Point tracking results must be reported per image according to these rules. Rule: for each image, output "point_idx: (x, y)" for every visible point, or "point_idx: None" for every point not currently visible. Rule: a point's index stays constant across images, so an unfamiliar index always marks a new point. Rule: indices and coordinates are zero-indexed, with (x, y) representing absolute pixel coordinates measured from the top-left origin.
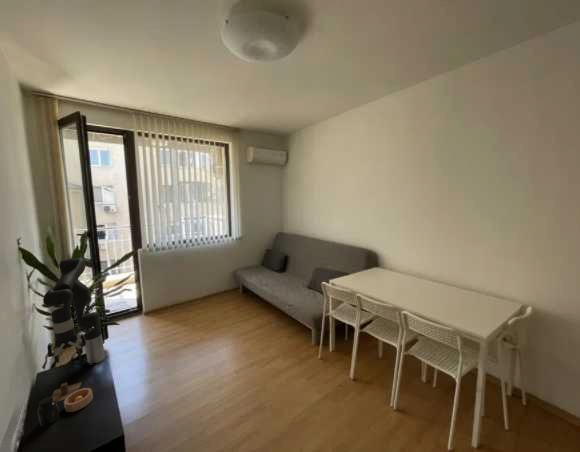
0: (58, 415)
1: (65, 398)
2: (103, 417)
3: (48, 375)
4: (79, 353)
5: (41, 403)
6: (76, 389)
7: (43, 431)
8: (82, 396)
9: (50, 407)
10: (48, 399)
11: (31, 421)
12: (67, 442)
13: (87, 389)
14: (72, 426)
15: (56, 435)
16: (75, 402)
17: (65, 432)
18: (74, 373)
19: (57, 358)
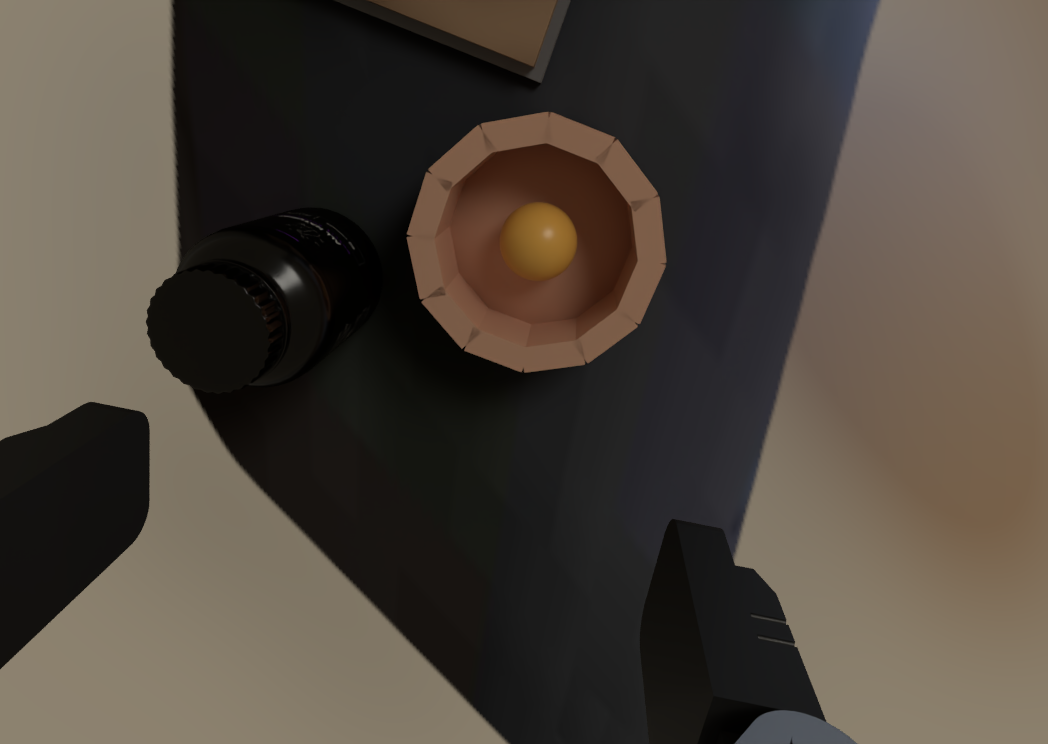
0: (368, 311)
1: (442, 18)
2: (645, 582)
3: None
4: (652, 686)
5: (171, 356)
6: None
7: None
8: (572, 245)
9: (276, 381)
10: (233, 343)
11: (183, 99)
12: (413, 610)
13: (634, 209)
14: (455, 482)
15: (358, 480)
16: (497, 348)
17: (410, 504)
18: None
19: (21, 625)
